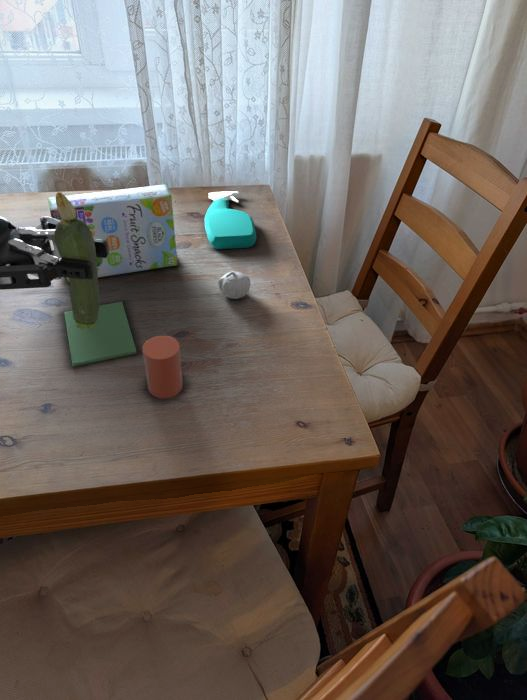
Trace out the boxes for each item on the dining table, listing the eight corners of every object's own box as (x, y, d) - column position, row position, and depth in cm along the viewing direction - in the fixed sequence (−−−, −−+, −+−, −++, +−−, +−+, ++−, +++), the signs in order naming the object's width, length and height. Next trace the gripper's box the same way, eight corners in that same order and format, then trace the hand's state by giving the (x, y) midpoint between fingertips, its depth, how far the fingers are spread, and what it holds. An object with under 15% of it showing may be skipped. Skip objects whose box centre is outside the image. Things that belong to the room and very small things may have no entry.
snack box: (171, 252, 108) (165, 182, 98) (177, 266, 104) (172, 195, 94) (64, 268, 102) (46, 195, 92) (67, 283, 98) (48, 210, 88)
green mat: (136, 353, 85) (136, 350, 84) (72, 366, 82) (72, 364, 81) (122, 304, 94) (122, 301, 94) (64, 314, 91) (64, 311, 91)
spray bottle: (208, 250, 109) (199, 199, 127) (259, 248, 111) (243, 198, 129) (207, 238, 107) (199, 187, 125) (260, 235, 109) (244, 186, 127)
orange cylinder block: (173, 402, 77) (169, 363, 72) (141, 393, 78) (135, 353, 73) (188, 379, 81) (185, 340, 76) (158, 370, 82) (153, 331, 77)
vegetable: (88, 313, 73) (59, 176, 60) (115, 321, 72) (92, 183, 59) (69, 332, 70) (34, 191, 57) (97, 340, 69) (68, 199, 56)
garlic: (220, 305, 95) (220, 281, 92) (216, 288, 99) (216, 264, 96) (253, 302, 96) (253, 278, 93) (247, 285, 100) (248, 262, 97)
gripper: (-81, 246, 57) (71, 264, 56) (-13, 190, 68) (116, 204, 66) (-57, 301, 62) (83, 319, 61) (3, 241, 73) (123, 255, 71)
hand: (99, 259), depth 64 cm, fingers closed on vegetable, 4 cm apart
